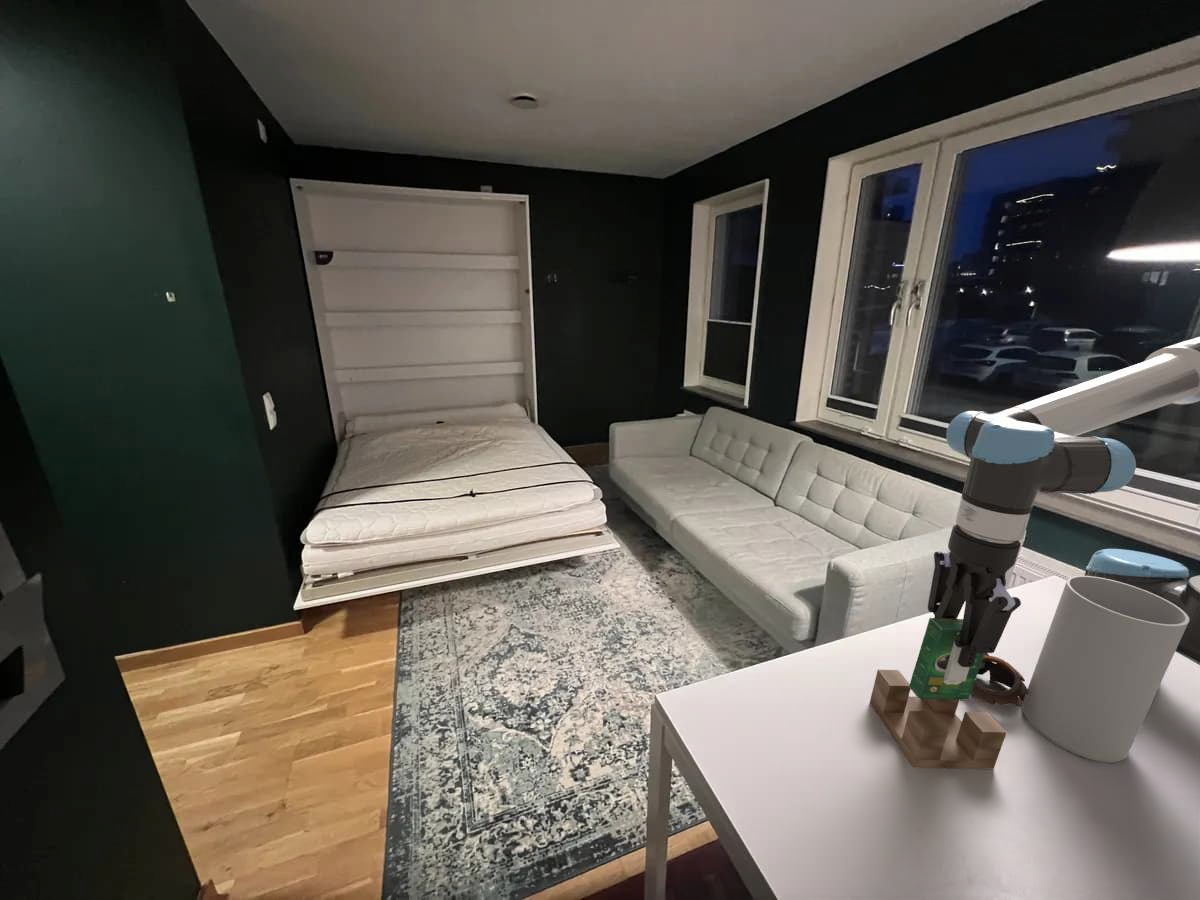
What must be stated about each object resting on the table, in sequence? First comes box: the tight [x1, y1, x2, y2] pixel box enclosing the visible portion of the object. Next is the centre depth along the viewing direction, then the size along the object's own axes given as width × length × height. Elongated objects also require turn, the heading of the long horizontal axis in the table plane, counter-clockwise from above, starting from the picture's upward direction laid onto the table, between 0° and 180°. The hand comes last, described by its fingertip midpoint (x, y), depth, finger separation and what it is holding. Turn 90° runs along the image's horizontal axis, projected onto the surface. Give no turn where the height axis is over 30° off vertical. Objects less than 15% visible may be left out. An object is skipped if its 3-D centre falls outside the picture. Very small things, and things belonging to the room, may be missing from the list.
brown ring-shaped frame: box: [970, 653, 1028, 707], centre depth 85 cm, size 12×10×8 cm
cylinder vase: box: [1021, 575, 1189, 764], centre depth 74 cm, size 12×12×25 cm
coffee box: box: [909, 617, 985, 701], centre depth 72 cm, size 8×3×13 cm, turn 90°
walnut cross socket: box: [869, 669, 1007, 770], centre depth 75 cm, size 12×12×7 cm
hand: (946, 670), depth 73 cm, fingers closed on coffee box, 3 cm apart
